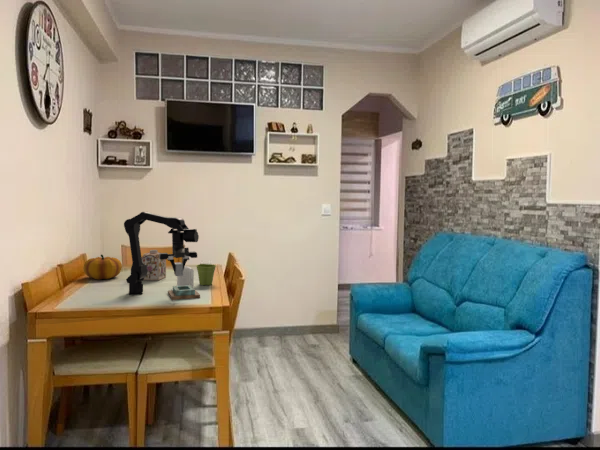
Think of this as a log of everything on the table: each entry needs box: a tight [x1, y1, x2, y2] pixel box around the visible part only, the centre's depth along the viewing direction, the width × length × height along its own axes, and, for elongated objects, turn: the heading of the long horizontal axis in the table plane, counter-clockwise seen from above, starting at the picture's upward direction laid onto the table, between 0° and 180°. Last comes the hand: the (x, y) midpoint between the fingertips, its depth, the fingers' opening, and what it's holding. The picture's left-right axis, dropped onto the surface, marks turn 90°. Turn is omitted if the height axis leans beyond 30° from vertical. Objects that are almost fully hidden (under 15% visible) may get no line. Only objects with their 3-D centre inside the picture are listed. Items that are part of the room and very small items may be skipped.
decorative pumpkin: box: [82, 254, 123, 281], centre depth 281 cm, size 20×22×15 cm
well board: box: [167, 285, 201, 301], centre depth 236 cm, size 14×16×4 cm
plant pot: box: [195, 263, 217, 286], centre depth 266 cm, size 12×12×11 cm
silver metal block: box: [173, 261, 183, 277], centre depth 234 cm, size 4×7×6 cm, turn 23°
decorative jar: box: [141, 249, 167, 281], centre depth 281 cm, size 12×12×18 cm
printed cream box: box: [176, 265, 195, 288], centre depth 256 cm, size 10×4×12 cm, turn 60°
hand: (178, 271), depth 234 cm, fingers closed on silver metal block, 3 cm apart
